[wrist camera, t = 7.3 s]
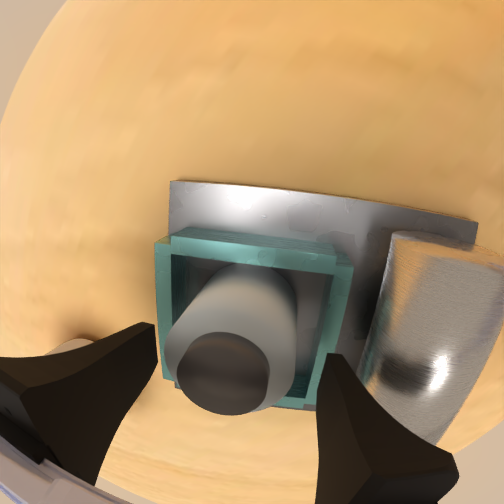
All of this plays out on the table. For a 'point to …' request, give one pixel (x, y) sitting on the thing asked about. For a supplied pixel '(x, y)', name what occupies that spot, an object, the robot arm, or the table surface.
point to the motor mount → (348, 289)
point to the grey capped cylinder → (236, 341)
